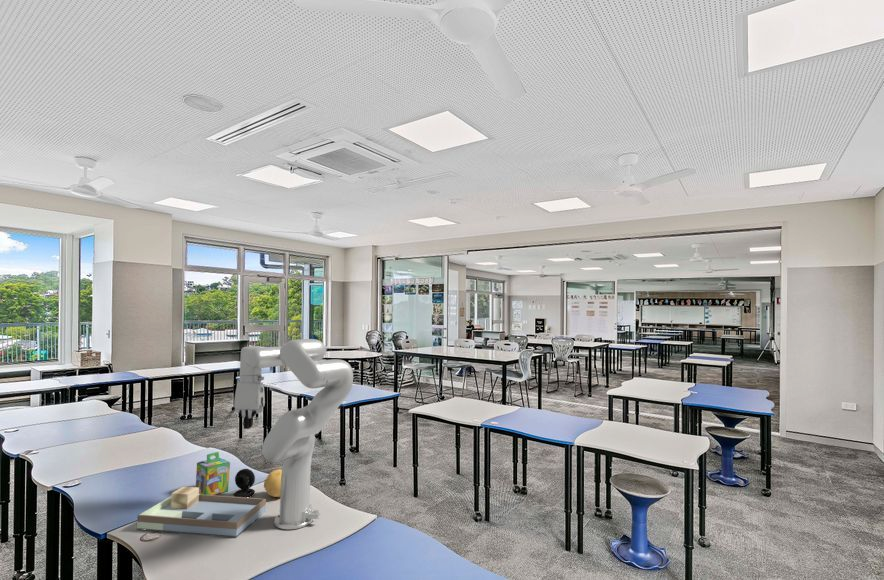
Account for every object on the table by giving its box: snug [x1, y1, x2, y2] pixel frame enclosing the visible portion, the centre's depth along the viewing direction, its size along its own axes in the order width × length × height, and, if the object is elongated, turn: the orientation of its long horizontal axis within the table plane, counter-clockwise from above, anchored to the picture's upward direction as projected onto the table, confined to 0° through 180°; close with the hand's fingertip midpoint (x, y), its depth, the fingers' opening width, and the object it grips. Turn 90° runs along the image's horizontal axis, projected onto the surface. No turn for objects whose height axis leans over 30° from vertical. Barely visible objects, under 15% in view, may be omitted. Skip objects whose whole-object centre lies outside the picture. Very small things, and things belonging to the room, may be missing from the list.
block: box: [170, 486, 199, 509], centre depth 152 cm, size 6×6×5 cm
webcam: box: [233, 468, 256, 498], centre depth 167 cm, size 8×8×10 cm
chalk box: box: [195, 451, 231, 496], centre depth 170 cm, size 9×9×15 cm
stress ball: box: [263, 468, 282, 498], centre depth 167 cm, size 10×10×10 cm
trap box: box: [136, 494, 267, 539], centre depth 146 cm, size 34×18×4 cm, turn 84°
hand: (247, 427), depth 163 cm, fingers closed
